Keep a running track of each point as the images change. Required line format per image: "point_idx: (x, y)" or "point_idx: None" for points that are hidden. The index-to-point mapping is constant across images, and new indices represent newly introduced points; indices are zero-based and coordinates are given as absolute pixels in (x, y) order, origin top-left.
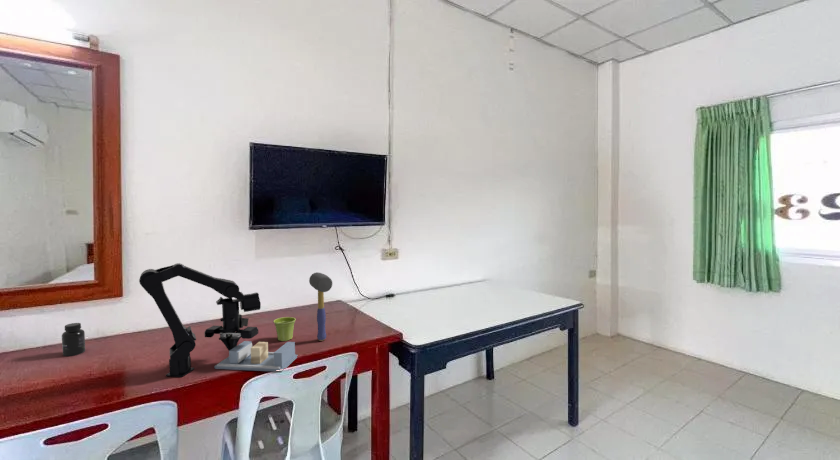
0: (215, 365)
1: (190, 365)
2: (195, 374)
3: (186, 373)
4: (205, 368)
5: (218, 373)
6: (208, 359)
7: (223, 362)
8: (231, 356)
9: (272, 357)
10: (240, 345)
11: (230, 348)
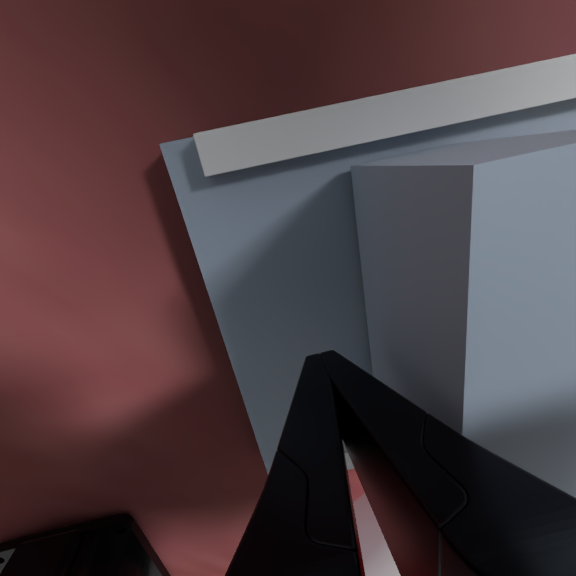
0: (267, 468)
1: (83, 557)
2: (215, 537)
3: (161, 571)
4: (191, 473)
5: (355, 482)
6: (8, 360)
7: (285, 412)
8: None
9: None
10: (523, 416)
11: (366, 490)
